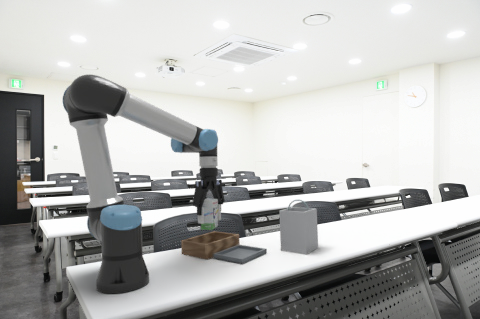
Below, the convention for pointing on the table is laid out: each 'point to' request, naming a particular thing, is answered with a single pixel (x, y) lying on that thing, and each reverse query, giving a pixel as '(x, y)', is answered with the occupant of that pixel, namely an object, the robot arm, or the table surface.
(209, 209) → the ink box
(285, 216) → the caddy
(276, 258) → the table surface
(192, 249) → the crate
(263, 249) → the tray
